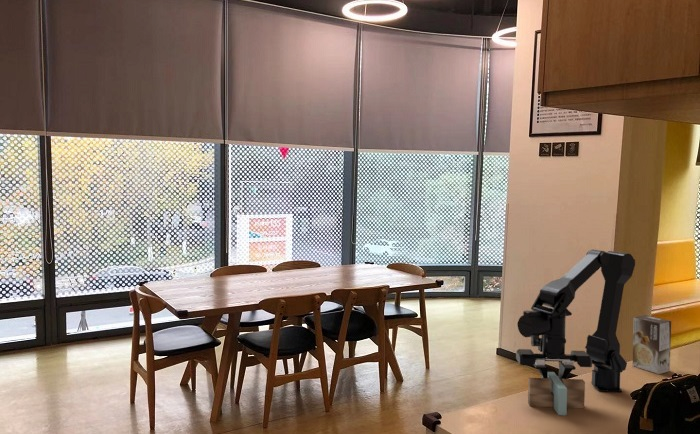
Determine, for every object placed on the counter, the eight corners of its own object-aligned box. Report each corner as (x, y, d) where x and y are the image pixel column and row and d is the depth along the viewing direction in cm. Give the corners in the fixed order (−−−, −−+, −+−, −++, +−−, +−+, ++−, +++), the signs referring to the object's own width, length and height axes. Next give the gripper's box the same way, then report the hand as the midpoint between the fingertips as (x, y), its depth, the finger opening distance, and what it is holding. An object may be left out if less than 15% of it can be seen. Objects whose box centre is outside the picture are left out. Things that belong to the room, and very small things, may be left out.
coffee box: (671, 371, 169) (673, 320, 168) (658, 374, 166) (660, 323, 165) (643, 362, 177) (645, 314, 176) (630, 365, 174) (632, 316, 173)
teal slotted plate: (566, 415, 138) (567, 388, 137) (558, 415, 138) (558, 388, 137) (553, 396, 150) (553, 371, 149) (546, 396, 150) (546, 371, 149)
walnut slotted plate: (581, 405, 144) (582, 379, 144) (584, 408, 142) (585, 382, 142) (527, 402, 145) (528, 377, 145) (529, 406, 143) (530, 380, 143)
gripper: (579, 325, 153) (578, 379, 154) (512, 323, 155) (511, 376, 156) (593, 336, 142) (592, 394, 143) (520, 334, 144) (519, 391, 145)
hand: (552, 388), depth 147 cm, fingers open, 3 cm apart
